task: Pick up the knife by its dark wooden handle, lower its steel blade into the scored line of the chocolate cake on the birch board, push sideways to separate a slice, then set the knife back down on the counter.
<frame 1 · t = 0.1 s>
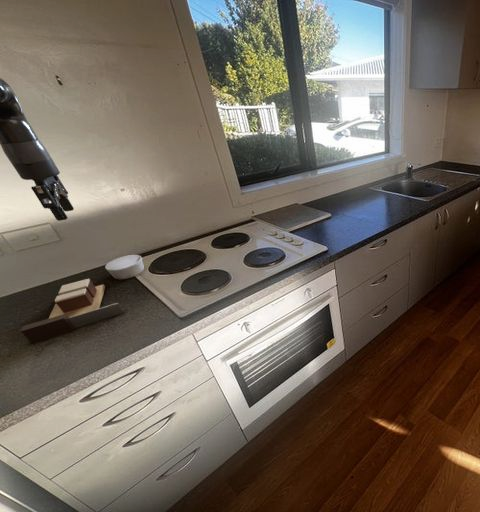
hand: (66, 215, 86), 31 cm above the worktop, tool pointing down, fingers open, 8 cm apart
knife: (54, 334, 86), on the worktop
cake: (82, 297, 99), point 1 cm above the worktop, touching board
board: (78, 306, 97), on the worktop
ramekin: (130, 273, 114), on the worktop
cake slice: (79, 306, 95), point 1 cm above the worktop, touching board
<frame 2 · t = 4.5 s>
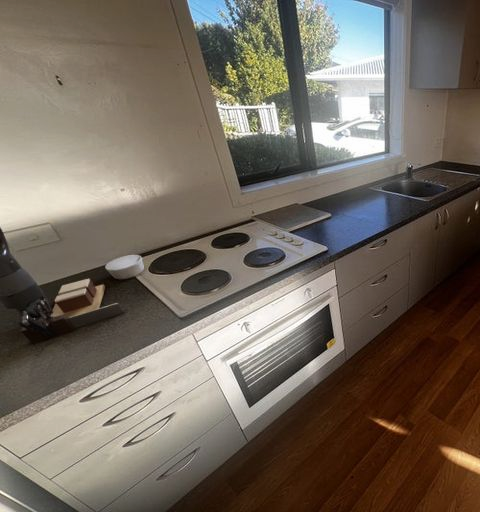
hand: (53, 333, 86), 1 cm above the worktop, tool pointing down, fingers closed on knife, 2 cm apart
knife: (54, 334, 86), on the worktop, touching gripper
everything else where it was.
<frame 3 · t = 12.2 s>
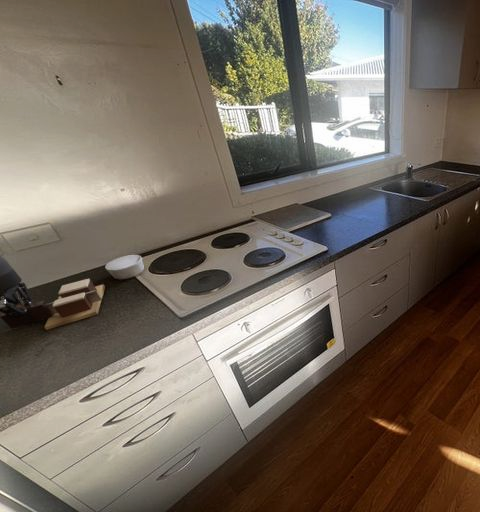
hand: (31, 318, 89), 2 cm above the worktop, tool pointing down, fingers closed on knife, 2 cm apart
knife: (33, 320, 89), point 1 cm above the worktop, touching cake slice, gripper
cake slice: (77, 310, 93), point 1 cm above the worktop, touching board, knife
everything else where it was.
when the fingers open (1 cm above the worktop, at t = 18.5 s): knife stays where it is, on the worktop.
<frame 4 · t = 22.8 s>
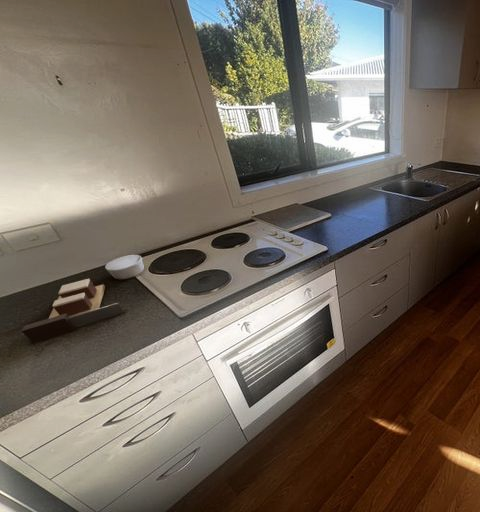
knife: (55, 334, 86), on the worktop
cake slice: (77, 311, 93), point 1 cm above the worktop, touching board
everything else where it was.
at the end: cake slice 0.9 cm from the target spot, point 1.2 cm above the worktop; cake moved 0.0 cm from its start; cake slice tilted 0° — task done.
